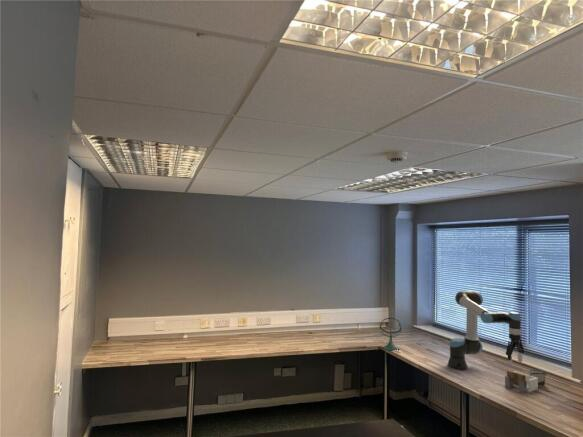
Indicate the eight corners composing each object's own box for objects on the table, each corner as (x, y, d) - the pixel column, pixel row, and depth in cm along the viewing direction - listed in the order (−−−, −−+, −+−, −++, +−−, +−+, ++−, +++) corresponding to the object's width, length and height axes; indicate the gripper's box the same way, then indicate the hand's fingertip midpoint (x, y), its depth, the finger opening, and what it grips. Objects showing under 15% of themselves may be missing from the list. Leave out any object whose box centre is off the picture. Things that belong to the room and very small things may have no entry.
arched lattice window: (540, 382, 283) (540, 369, 284) (546, 385, 277) (546, 372, 278) (525, 382, 283) (524, 369, 284) (530, 385, 277) (530, 372, 277)
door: (507, 381, 274) (507, 370, 275) (508, 381, 275) (508, 370, 276) (524, 387, 264) (523, 375, 265) (525, 386, 265) (525, 375, 266)
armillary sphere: (383, 353, 352) (383, 315, 357) (376, 347, 377) (376, 312, 382) (405, 353, 352) (405, 316, 357) (397, 347, 378) (397, 312, 382)
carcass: (503, 385, 276) (503, 374, 276) (515, 381, 284) (515, 371, 284) (525, 393, 262) (525, 381, 262) (537, 389, 270) (537, 377, 271)
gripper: (510, 337, 263) (510, 367, 262) (529, 333, 276) (529, 362, 274) (500, 334, 269) (500, 364, 268) (518, 330, 282) (519, 359, 281)
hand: (515, 363), depth 271 cm, fingers open, 13 cm apart
